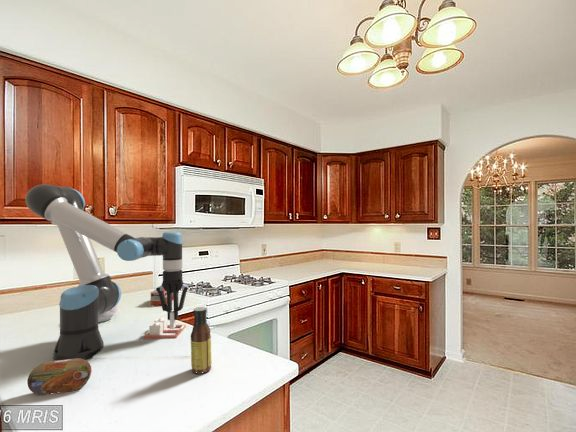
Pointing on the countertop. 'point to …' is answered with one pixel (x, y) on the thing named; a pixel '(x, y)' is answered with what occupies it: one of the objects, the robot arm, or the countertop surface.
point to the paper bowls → (108, 314)
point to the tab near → (156, 328)
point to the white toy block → (163, 322)
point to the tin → (59, 376)
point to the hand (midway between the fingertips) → (172, 327)
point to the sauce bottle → (200, 342)
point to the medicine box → (158, 298)
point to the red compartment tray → (166, 332)
